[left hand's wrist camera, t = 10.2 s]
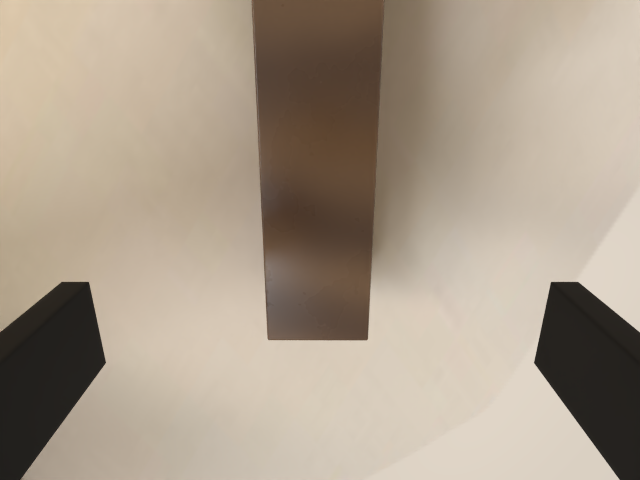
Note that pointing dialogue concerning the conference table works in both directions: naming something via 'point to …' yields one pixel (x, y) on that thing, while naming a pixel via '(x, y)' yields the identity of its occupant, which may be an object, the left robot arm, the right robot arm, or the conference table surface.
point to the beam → (317, 162)
